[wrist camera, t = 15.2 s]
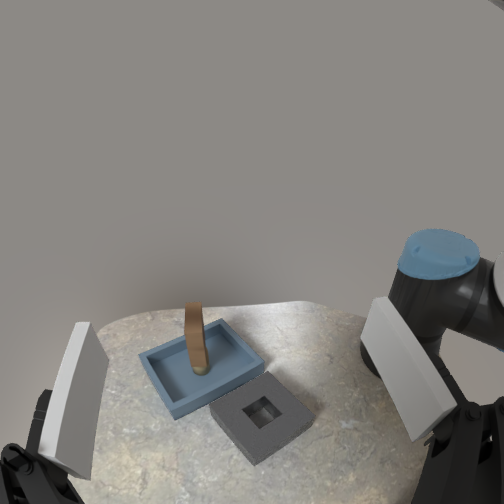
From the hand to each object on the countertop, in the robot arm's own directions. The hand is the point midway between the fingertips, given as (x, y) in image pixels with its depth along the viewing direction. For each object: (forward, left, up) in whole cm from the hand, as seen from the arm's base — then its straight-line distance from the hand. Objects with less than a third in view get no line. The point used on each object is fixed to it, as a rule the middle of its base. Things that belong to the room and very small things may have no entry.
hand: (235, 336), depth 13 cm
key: (-6, -19, -28) cm, 35 cm away
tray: (-6, -19, -29) cm, 35 cm away
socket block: (-8, -6, -29) cm, 30 cm away
